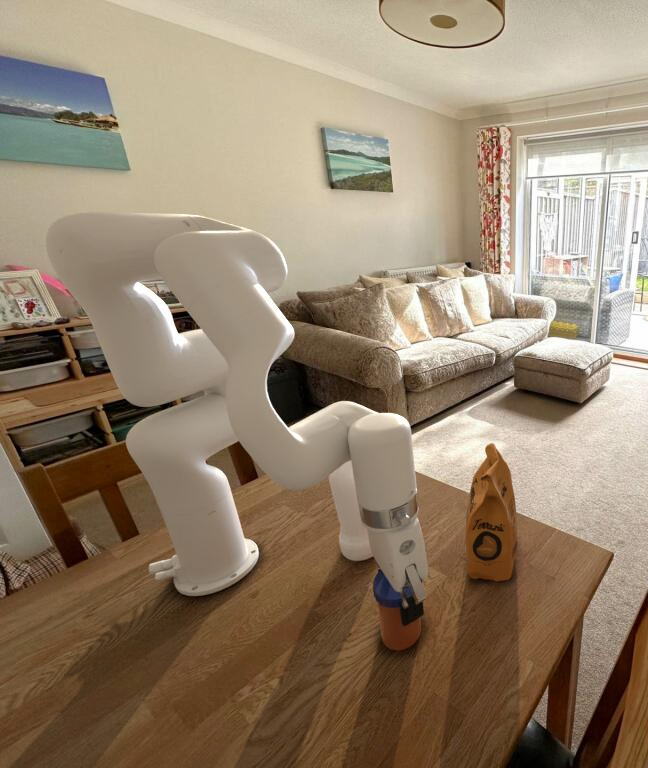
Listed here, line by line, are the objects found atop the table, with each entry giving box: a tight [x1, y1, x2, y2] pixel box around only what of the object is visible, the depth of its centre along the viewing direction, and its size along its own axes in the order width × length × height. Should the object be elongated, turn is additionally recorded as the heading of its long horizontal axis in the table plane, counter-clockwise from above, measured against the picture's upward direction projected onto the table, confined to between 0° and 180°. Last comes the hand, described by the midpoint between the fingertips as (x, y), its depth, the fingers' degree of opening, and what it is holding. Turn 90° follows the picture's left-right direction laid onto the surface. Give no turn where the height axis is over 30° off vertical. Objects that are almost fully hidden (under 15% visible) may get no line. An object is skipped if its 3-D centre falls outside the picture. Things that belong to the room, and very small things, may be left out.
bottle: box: [327, 460, 374, 562], centre depth 73 cm, size 8×8×30 cm
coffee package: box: [464, 442, 518, 583], centre depth 73 cm, size 10×12×22 cm
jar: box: [377, 602, 422, 651], centre depth 61 cm, size 6×6×10 cm
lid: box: [372, 570, 423, 608], centre depth 59 cm, size 7×7×2 cm
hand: (401, 601), depth 60 cm, fingers open, 6 cm apart
